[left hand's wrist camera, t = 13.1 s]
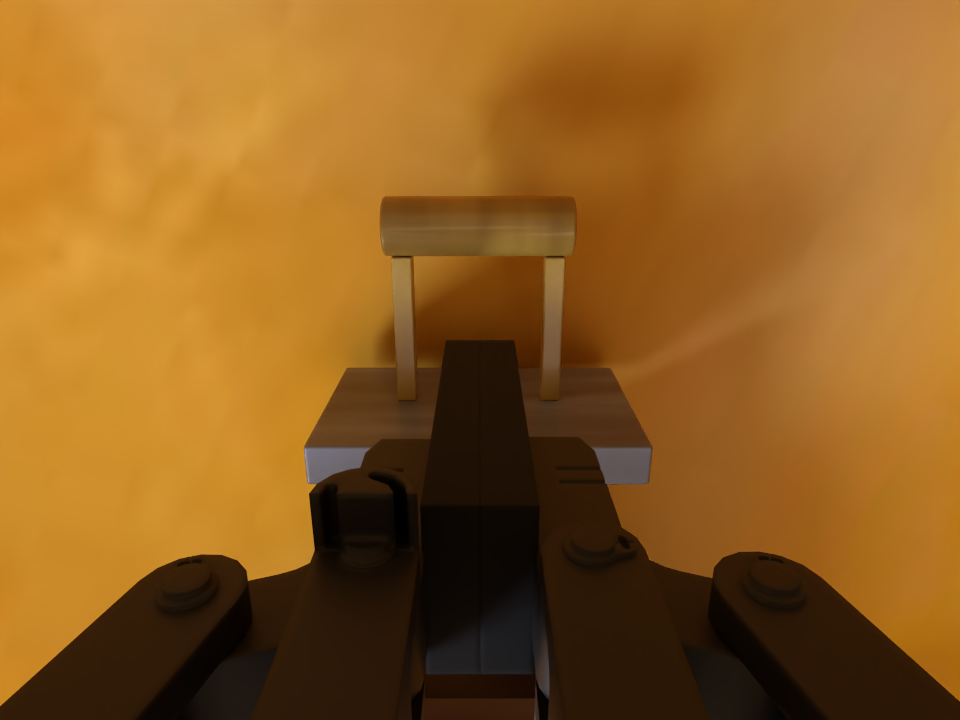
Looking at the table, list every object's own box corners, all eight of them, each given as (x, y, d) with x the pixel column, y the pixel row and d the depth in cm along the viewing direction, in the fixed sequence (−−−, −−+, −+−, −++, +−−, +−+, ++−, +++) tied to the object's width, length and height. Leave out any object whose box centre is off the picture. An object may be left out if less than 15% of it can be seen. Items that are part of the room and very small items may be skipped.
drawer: (333, 187, 21) (278, 211, 15) (624, 187, 21) (677, 211, 15) (373, 721, 29) (346, 867, 23) (584, 721, 29) (610, 868, 23)
